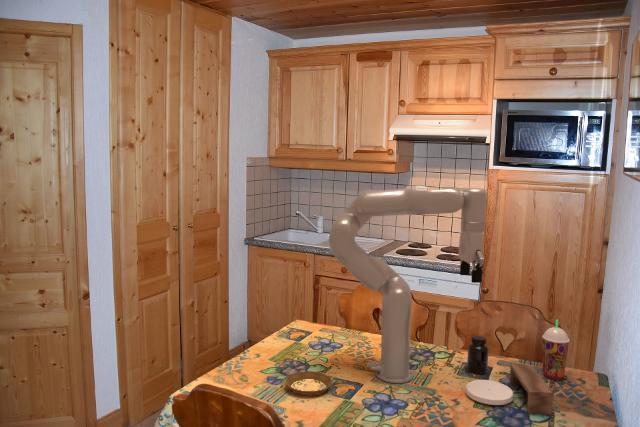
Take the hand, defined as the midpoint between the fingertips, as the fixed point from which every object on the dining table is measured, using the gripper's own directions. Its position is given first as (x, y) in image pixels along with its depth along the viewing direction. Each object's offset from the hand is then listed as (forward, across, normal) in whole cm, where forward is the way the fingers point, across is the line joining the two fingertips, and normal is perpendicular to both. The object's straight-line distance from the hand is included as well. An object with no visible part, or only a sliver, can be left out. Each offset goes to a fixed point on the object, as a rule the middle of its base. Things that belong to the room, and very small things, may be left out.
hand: (470, 278), depth 170 cm
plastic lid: (+35, +12, +3) cm, 37 cm away
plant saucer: (+35, +1, -53) cm, 63 cm away
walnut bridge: (+35, +14, +14) cm, 40 cm away
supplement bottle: (+35, -7, +7) cm, 36 cm away
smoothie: (+35, -1, +31) cm, 47 cm away
